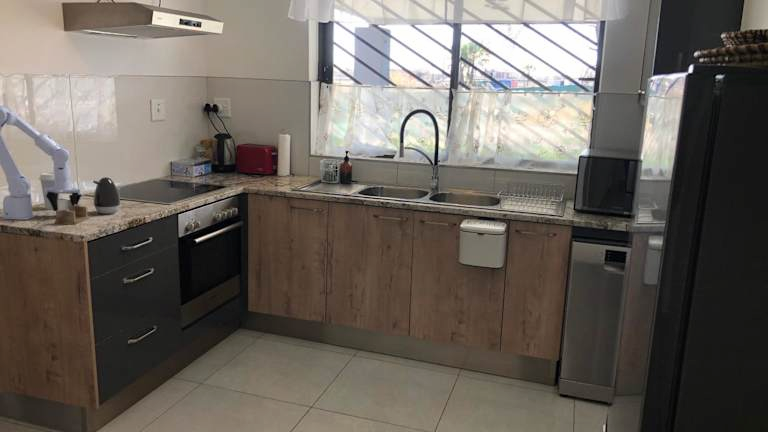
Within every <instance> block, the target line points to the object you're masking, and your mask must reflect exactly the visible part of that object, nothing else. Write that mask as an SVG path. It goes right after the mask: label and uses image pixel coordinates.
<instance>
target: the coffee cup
mask: <svg viewBox="0 0 768 432" xmlns="http://www.w3.org/2000/svg"><path fill="white" fill-rule="evenodd" d="M38 179H39V181H40V184H41V185H40V186H41V191H42V196H43V202H44V207H45V209H46V210H47V211H48V210H50V211H52V210H53V207H52V205H51V203H50V201H49V200H48V198H47V197H46V195H47V194H48V193H45V191H44V188H55V179H54V171H53V172H43V173H41V174H40V175H39V178H38ZM61 198H64V194H63V193H59V194H58V199H61ZM53 211H54V210H53Z"/></svg>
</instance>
